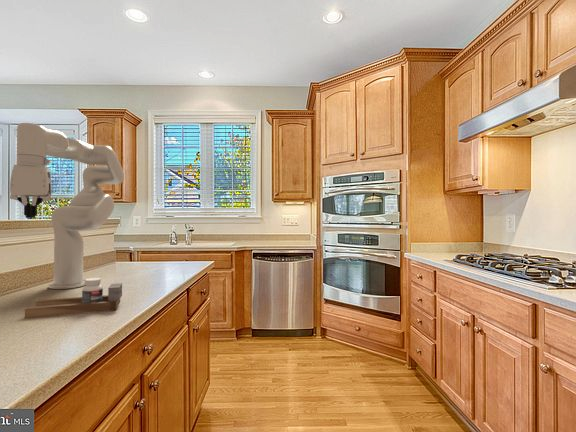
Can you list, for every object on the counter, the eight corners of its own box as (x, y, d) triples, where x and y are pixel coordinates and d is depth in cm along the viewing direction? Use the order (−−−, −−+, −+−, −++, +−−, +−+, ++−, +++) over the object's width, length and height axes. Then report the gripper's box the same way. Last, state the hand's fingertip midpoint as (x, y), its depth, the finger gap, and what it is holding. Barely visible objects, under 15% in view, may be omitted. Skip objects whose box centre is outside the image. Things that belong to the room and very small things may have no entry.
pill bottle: (90, 311, 92) (91, 281, 91) (77, 309, 93) (78, 280, 93) (106, 306, 97) (106, 278, 96) (93, 304, 98) (93, 276, 98)
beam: (38, 307, 94) (38, 286, 94) (122, 301, 102) (122, 281, 102) (24, 317, 85) (24, 294, 85) (118, 310, 93) (118, 288, 93)
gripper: (62, 165, 109) (61, 218, 109) (8, 162, 103) (7, 217, 103) (55, 162, 102) (54, 218, 102) (-4, 158, 96) (-5, 217, 96)
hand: (30, 217), depth 102 cm, fingers closed
